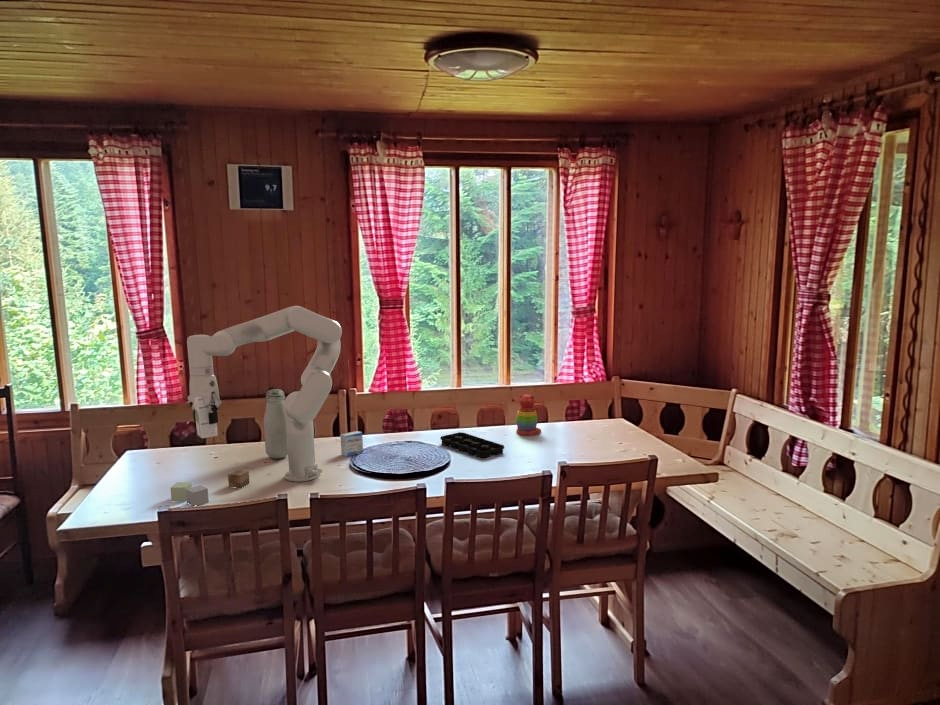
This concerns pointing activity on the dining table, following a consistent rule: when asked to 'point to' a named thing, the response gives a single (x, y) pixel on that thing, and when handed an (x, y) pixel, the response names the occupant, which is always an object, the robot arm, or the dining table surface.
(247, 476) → the walnut cube
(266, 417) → the glass bottle
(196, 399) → the syrup box
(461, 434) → the egg carton
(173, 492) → the sage green cube
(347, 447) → the medicine box
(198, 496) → the slate grey cube
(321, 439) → the dining table surface
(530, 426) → the stacking bear
